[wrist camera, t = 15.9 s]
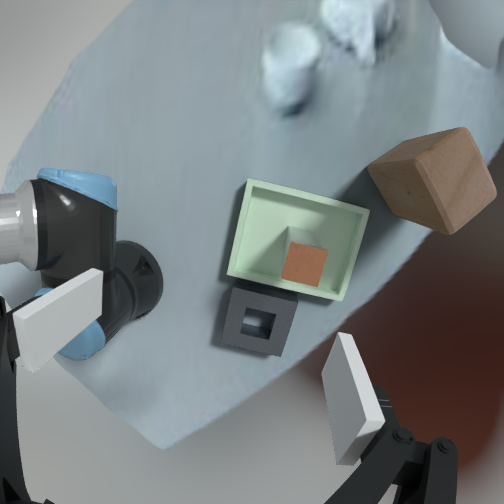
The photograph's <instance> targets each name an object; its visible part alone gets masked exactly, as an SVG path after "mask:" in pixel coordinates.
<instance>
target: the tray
mask: <svg viewBox="0 0 504 504" xmlns="http://www.w3.org/2000/svg"><path fill="white" fill-rule="evenodd" d="M369 213H370V210H368V209H366V208H362V207H359V206H356V205H352V204H349V203H345V202H342V201H338V200H334V199H331V198H327V197H324V196H320V195H316V194H312V193H308V192H305V191H301V190H297V189H293V188H289V187H285V186H281V185H276V184H272V183H268V182H264V181H259V180H255V179H251V178H248V180H247V185H246V189H245V194H244V198H243V202H242V207H241V211H240V216H239V220H238V225H237V229H236V234H235V238H234V243H233V248H232V252H231V257H230V261H229V266H228V271H227V275H230V276H234V277H239V278H243V279H247V280H251V281H255V282H259V283H263V284H267V285H271V286H276V287H280V288H284V289H288V290H293V291H297V292H301V293H305V294H310V295H314V296H319V297H323V298H327V299H332V300H336V301H341V302H342V301H343V298H344V295H345V292H346V289H347V286H348V283H349V280H350V277H351V274H352V271H353V268H354V265H355V261H356V258H357V255H358V252H359V248H360V245H361V241H362V238H363V235H364V231H365V227H366V224H367V220H368V217H369ZM288 226H292V227H296V228H300V229H304V230H308V231H312V232H313V234H314V236H315V237H316V239H317V240H318V242H319V244H320V245H321V247H322V248H324V249H327V250H328V254H327V258H326V261H325V265H324V268H323V271H322V275H321V278H320V281H319V285H318V287H314V286H310V285H305V284H301V283H297V282H292V281H288V280H284V279H281V274H282V270H283V245H284V241H285V237H286V233H287V229H288Z"/></svg>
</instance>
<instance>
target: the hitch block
mask: <svg viewBox="0 0 504 504" xmlns="http://www.w3.org/2000/svg"><path fill="white" fill-rule="evenodd" d="M297 305H298V298H297V294H295V293H291V292H287V291H282V290H278V289H274V288H270V287H266V286H261V285H257V284H253V283H249V282H245V281H241V280H237V279H236V281H235V283H234V285H233V289H232V293H231V298H230V302H229V307H228V311H227V316H226V320H225V325H224V330H223V334H222V339H221V343H223V344H227V345H231V346H235V347H239V348H243V349H248V350H252V351H256V352H261V353H265V354H269V355H274V356H279V357H281V355H282V352H283V349H284V346H285V343H286V340H287V337H288V333H289V330H290V327H291V324H292V321H293V318H294V315H295V311H296V308H297ZM246 307H248V308H252V309H256V310H260V311H265V312H269V313H273V314H274V317H273V320H272V324H271V327H270V329H265V328H261V327H257V326H253V325H248V324H244V323H243V319H244V315H245V311H246Z"/></svg>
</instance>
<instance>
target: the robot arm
mask: <svg viewBox="0 0 504 504" xmlns="http://www.w3.org/2000/svg"><path fill="white" fill-rule="evenodd" d="M37 178H38V179H36V180H25V181H24V182H23V184H22V185H21V186H20V187H19V188H18V190H17V191H16V192H14V193H8V194H0V265H1V264H7V263H12V262H20V263H22V264H23V265H24V266H25V267H26V268H28V269H29V270H30V271H37V270H41V278H42V287H43V288H42V289H40V290H38V291H37V292H36V294H35V295H34V297H33V298H31V299H30V300H28V301H27V302H24V303H23V304H22V305H19V306H18V307H16V308H14V309H12V310H11V311H9V312H7V313H6V307H5V299H4V298H3V297H2V296H0V504H42V503H38V502H34V501H31V499H30V497H29V494H28V492H27V489H26V486H25V481H24V476H23V470H22V463H21V456H20V448H19V439H18V427H17V409H16V361H15V359H16V358H18V357H19V356H20V358H21V362H22V366H23V367H25V368H26V369H28V370H30V371H31V372H33V373H34V372H35V371H37V370H38V369H39V368H40V367H41V366H42V365H43V364H44V363H46V362H47V361H48V360H49V359H50V358H51V357H52V356H53V355H55V354H56V353H57V352H58V353H59V354H61V355H62V356H64V357H67V358H69V359H73V360H85V359H88V358H90V357H91V356H93V355H94V354H95V353H96V352H97V351H99V350H101V349H102V348H103V347H104V346H105V344H106V343H107V342H108V341H109V340H110V339H111V338H112V337H113V336H114V335H115V334H116V333H117V332H118V331H119V330H120V328H121V327H122V326H123V325H124V324H125V323H126V322H127V321H129V320H133V319H136V318H140V317H143V316H145V315H146V314H148V313H149V312H150V311H151V310H152V309H153V308H154V307H155V306H156V305H157V304H158V302H159V300H160V298H161V296H162V292H163V277H162V273H161V270H160V267H159V265H158V263H157V261H156V260H155V258H154V257H153V256H152V254H151V253H150V252H149V251H148V250H147V249H145V248H144V247H143V246H141V245H139V244H137V243H135V242H132V241H125V240H122V241H116V221H117V212H118V207H117V186H116V183H115V181H114V180H113V179H112V178H110V177H108V176H105V175H100V174H94V173H87V172H80V171H71V170H61V169H52V168H41V169H40V170H39V173H38V174H37ZM322 379H323V385H324V390H325V396H326V402H327V407H328V413H329V419H330V425H331V431H332V437H333V445H334V451H335V458H336V465H354V464H355V463H356V462H357V461H358V459H359V458H361V464H360V465H359V467H358V468H357V469H356V470H355V471H354V472H353V473H352V475H351V476H350V477H349V478H348V479H347V480H346V481H345V482H344V483H343V485H342V486H341V487H340V488H339V489H338V490H337V491H336V492H335V493H334V494H333V495H332V496H331V497H330V498H329V499H328V500H327V501H326V502H325V503H324V504H378V502H379V501H380V500H381V498H382V497H383V495H384V494H385V492H386V491H387V489H388V488H389V486H390V485H391V484H396V485H398V487H397V491H396V494H395V498H394V502H393V504H455V503H456V491H457V490H456V489H457V468H458V450H457V446H456V445H455V443H454V442H453V441H451V440H450V439H447V438H446V437H436V438H435V439H434V440H433V441H432V442H431V443H430V444H427V443H423V442H419V441H416V440H415V436H414V435H413V433H412V432H411V431H409V430H408V429H407V428H404V427H402V426H400V424H399V422H398V419H397V417H396V414H395V412H394V409H393V408H392V405H391V403H390V401H389V398H388V395H387V393H386V392H385V391H384V390H383V388H382V387H381V386H380V385H372V384H371V382H370V380H369V377H368V374H367V372H366V369H365V367H364V364H363V362H362V359H361V357H360V354H359V352H358V349H357V347H356V345H355V342H354V340H353V338H352V335H350V334H344V333H340V332H338V334H337V337H336V339H335V342H334V345H333V347H332V349H331V352H330V354H329V357H328V359H327V361H326V364H325V366H324V369H323V371H322ZM43 504H54V503H53V502H51V501H49V500H48V499H46V500H45V502H44V503H43Z"/></svg>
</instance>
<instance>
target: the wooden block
mask: <svg viewBox="0 0 504 504" xmlns="http://www.w3.org/2000/svg"><path fill="white" fill-rule="evenodd" d="M367 170H368V173H369V175H370V177H371V178H372V180H373V182H374V183H375V185H376V186H377V188H378V190H379V191H380V193H381V195H382V196H383V198H384V200H385V202H386V203H387V205H388V207H389V208H390V210H391V212H392V213H393V214H394V215H395V216H398V217H401V218H404V219H406V220H409V221H412V222H415V223H417V224H420V225H423V226H425V227H428V228H431V229H433V230H436V231H438V232H441V233H444V234H446V235H450V234H453V233H455V232H456V231H457V230H459V229H460V228H461V227H462V226H464V225H465V224H466V223H467V222H468V221H469V220H471V219H472V218H473V217H474V216H475V215H477V213H479V212H480V211H481V210H482V209H483V208H485V207H486V206H487V205H488V204H489V203H490V202H491V201H492V200H494V199H495V197H496V195H497V192H496V188H495V186H494V183H493V181H492V178H491V176H490V173H489V171H488V169H487V167H486V164H485V162H484V160H483V158H482V156H481V153H480V151H479V149H478V147H477V145H476V143H475V141H474V139H473V137H472V135H471V133H470V132H469V130H468V129H467V128H465V127H459V128H454V129H450V130H446V131H442V132H437V133H433V134H429V135H425V136H421V137H418V138H414V139H410V140H406V141H403V142H402V143H400V144H399V145H397V146H396V147H394V148H393V149H391V150H390V151H389V152H387V153H386V154H384V155H383V156H381V157H380V158H378V159H377V160H375V161H374V162H372V163H371V164H369V166H368V167H367Z"/></svg>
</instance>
